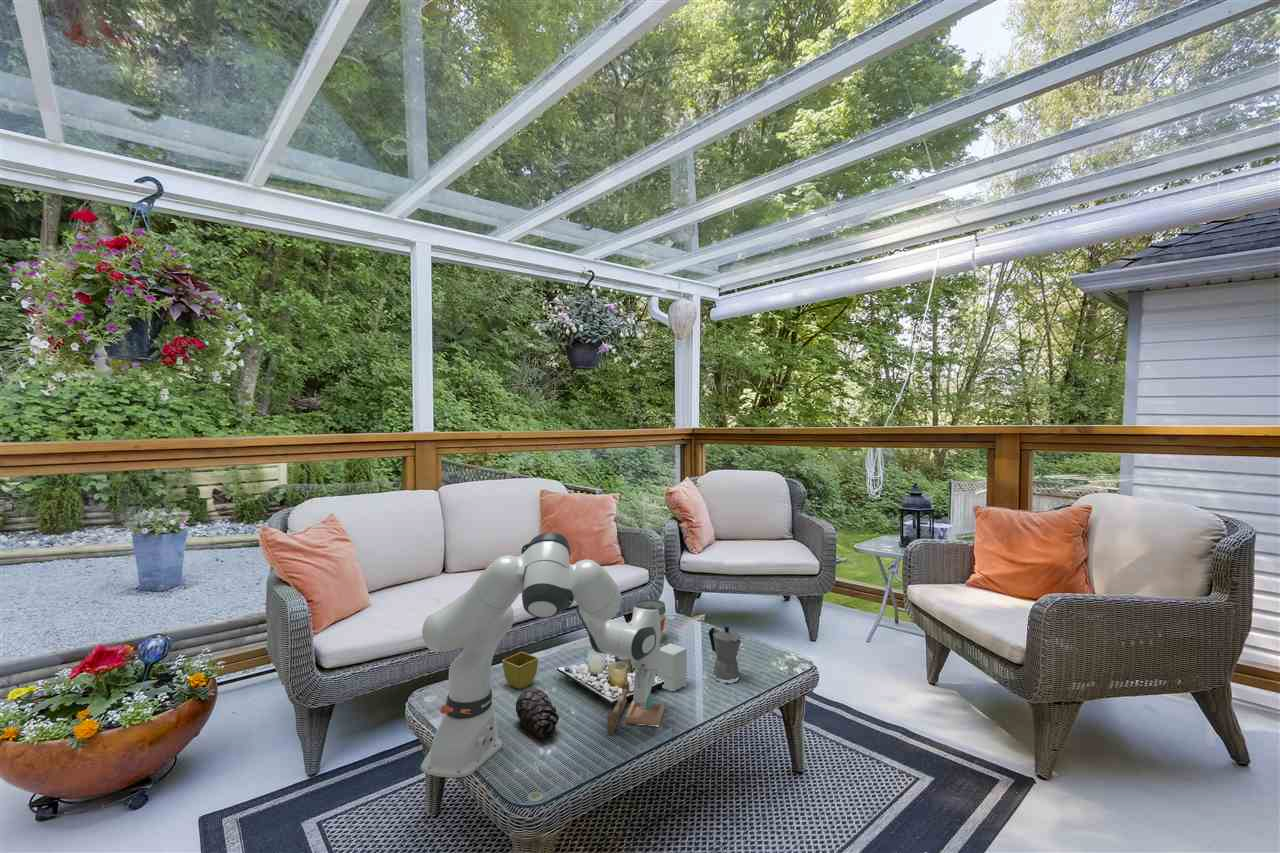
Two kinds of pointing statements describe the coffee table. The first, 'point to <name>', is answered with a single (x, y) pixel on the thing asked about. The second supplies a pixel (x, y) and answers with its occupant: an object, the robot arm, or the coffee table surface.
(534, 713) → the pine cone
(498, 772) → the coffee table surface
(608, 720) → the fence
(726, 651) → the coffeepot
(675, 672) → the supplement box
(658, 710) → the wooden tray
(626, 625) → the robot arm
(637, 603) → the reusable coffee cup
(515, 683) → the flower pot
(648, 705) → the ball
